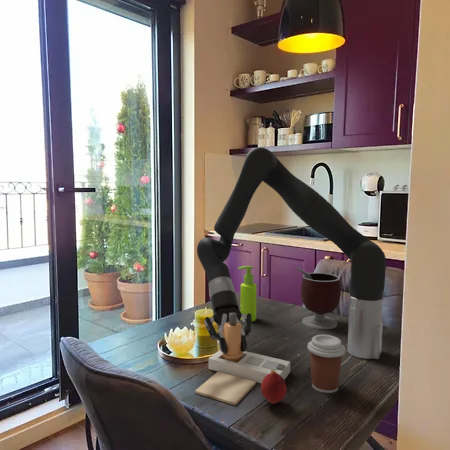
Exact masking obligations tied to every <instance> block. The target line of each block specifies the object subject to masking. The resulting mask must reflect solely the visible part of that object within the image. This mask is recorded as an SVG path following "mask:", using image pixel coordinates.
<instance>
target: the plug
mask: <svg viewBox="0 0 450 450" xmlns="http://www.w3.org/2000/svg"><path fill="white" fill-rule="evenodd" d="M239 322H240V321H239ZM239 322H236V313H229V322H226V323H225V324H224V338H225V341H226V345H227V353H226V354H223V352H222V355H223V357H224V360H228V361H232V362H236V363H238V362H239V361H240V360H241V357H242V356H243V352H242V351H241V325H242V323H241V322H240V323H239Z"/></svg>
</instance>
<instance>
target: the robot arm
mask: <svg viewBox="0 0 450 450" xmlns="http://www.w3.org/2000/svg"><path fill="white" fill-rule="evenodd" d="M241 167H242V168H241V171H240V174H239V176H238V179H237V181H236V183H235V186H234V189H233V190H232V192H231V194H230V196H229V197H228V200H227V202H226V203H225V205H224V207H223V209H222V211H221V212H220V214H219V216H218V217H217V220H216V222H215V223H214V227H213V230H214V232H215V233H216V234H218V235H219V236H220V237H219V240H217V239H215V238H211V237H203V238H202V239H200V240H199V242H198V243H197V246H196V253H197V254H196V255H197V257H198V259H199V262H200V265H201V266H202V268H203V270H204V272H205V274H206V278H207V283H208V293H209V299H210V303H211V304H210V305H211V308H212V313H213V315H212V316H210V317H208V316H206V317H205V320H204V322H203V324H204V326H205V328H206V330H207V332H208V334H209V336H210V339H211V340H216V341H218V343H219V344H218V345H219V348H220V349H219V350H221V352H223V354H226V353H227V345H226V341H225V338H224V324H225V323H226V322H229V313H236V322H239V323H241V322H240V321H241V318H242V319H243V321H242V322H243V323H244V329H243V326H242V324H241V351H242V352H244V351H246V349H248V343H247V339H246V337H248V336H249V335H250V333H251V332H252V331H251V330H252V322H251V314H250V313H248V314H242V313H241V312H240V307H239V303H238V300H237V298H238V297H237V296H236V290H235V287H234V286H235V285H234V283H233V281H232V278H231V274H230V269H229V266H228V265H227V264H226V263H225V262H226V260H227V259H228V258H229V256H230V254H231V249H232V245H233V243H234V238H235V234H236V232H237V231H238V229H239V227H240V226H241V224H242V221H243V220H244V218H245V216H246V213H247V211H248V209H249V205H250V203H251V201H252V198H253V196H254V194H255V193H256V191H257V189H258V188H259V186H260V185H261V184H262V182H263V183H265V184H266V185H268V186H269V187H270V188H272V189H273V190H274V191H275V192H276V193H277V194H278V195H279V197H280V198H281V199H282V200H283V201H284V202H285V204H286V205H287V207H288V208H289V209H291V211H292V212H293V213H294V214H295V215H296V216H297V217H298V218H299V219H300V220H301V221H303V222H304V223H305V224H306V225H307V226H308V227H309V228H310V229H312V230H313V231H314V232H316V233H317V234H319V235H320V236H323V238H325V239H327V240H329V241H330V242H331V243H332V244H334V245H335V246H336V247H337V248H339V249H340V250H341V252H342V253H343V254H344V255H345V256H346V257H347V258H348V259H349V261H350V262H351V263H350V283H349V299H348V300H349V301H348V321H347V326H348V327H347V328H348V329H347V352H348V354H350V355H351V356H353V357H356V358H359V359H365V360H372V359H374V360H379V359H380V356H381V354H382V345H383V344H382V343H383V325H384V323H383V322H384V321H383V320H382V319H383V318H382V317H383V301H384V299H383V298H384V290H385V283H386V270H387V269H386V268H387V267H386V265H387V260H386V254H385V252H384V251H383V249H382V248H381V247H380V246H379V245H378V244H377V243H375V242H374V241H372V240H371V239H369V238H367V236H365V235H364V234H362V233H361V232H360V231H358V230H357V229H355V228H354V227H353V226H352V225H351V224H350V223H349V222H348V221H347V220H346V219H345V218H344V217H343V215H342V214H341V213H340V212H339V211H338V209H336V208H335V207H334V206H333V204H331V203H330V202H329V201H328V200H327V199H326V198H325V197H323V195H321V194H320V193H318V191H317V190H315V189H314V188H312V186H310V185H308V184H307V183H306V182H304V181H302V180H301V179H299V178H298V177H297V176H295V175H294V174H293V173H292V172H290V170H289V169H287V167H286V166H285V165H284V163H282V162H281V160H279V159H278V158H277V156H276V155H275V154H274V153H273V152H272V151H271V150H269V149H268V148H265V147H262V146H261V147H255V148H252V149H251V150H249V152H248V153H247V154H246V156H245V158H244V161H243V164H242V166H241ZM214 323H215V324H216V325H217V326H218V327H219V328H218V332H217V330H216V328H215V326H214V325H213V324H214Z"/></svg>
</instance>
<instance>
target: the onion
mask: <svg viewBox="0 0 450 450" xmlns="http://www.w3.org/2000/svg"><path fill="white" fill-rule="evenodd" d="M260 391H261V394H262V396H263V398H265V399H266V400H267V401H269V403H270V404H271V405H275V404H278V403H279V402H282V400H284V398H285V397H286V395H287V391H288V388H287V384H286V380H285V379H283V378H282V377H281V376H280V375H279V374H277V373H276V372H275V370H271V373H269V374H268V375H266V376H265V377H264V379H263V381H262V383H260Z"/></svg>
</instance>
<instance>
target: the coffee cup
mask: <svg viewBox="0 0 450 450" xmlns="http://www.w3.org/2000/svg"><path fill="white" fill-rule="evenodd" d="M306 347H307V348H306V349H307V350H308V352H309V353H310V357H309V358H310V370H311V372H310V373H311V386H312V388H313V389H314V390H316V391H317V392H319V393H324V394H333V393H336V392H337V391H338V390H339V385H340V384H339V383H340V377H341V367H342V360H343V356H344V355H345V354H346V347H345V346H344V345H343V343H342V340H341V339H340V338H338V337H336V336H334V335H331V334H317V335H314V336H312V338H311V340H310V341H309V342H308V343H307V346H306Z"/></svg>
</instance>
